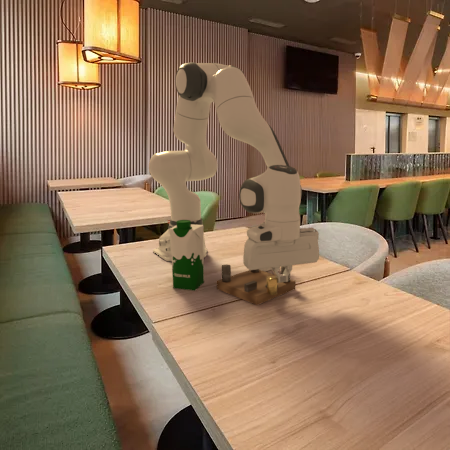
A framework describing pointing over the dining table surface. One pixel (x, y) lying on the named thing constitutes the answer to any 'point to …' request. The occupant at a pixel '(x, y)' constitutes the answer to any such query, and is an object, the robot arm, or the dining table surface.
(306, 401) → the dining table surface
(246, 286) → the stool seat
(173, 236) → the milk carton
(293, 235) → the robot arm
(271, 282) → the gold bone
